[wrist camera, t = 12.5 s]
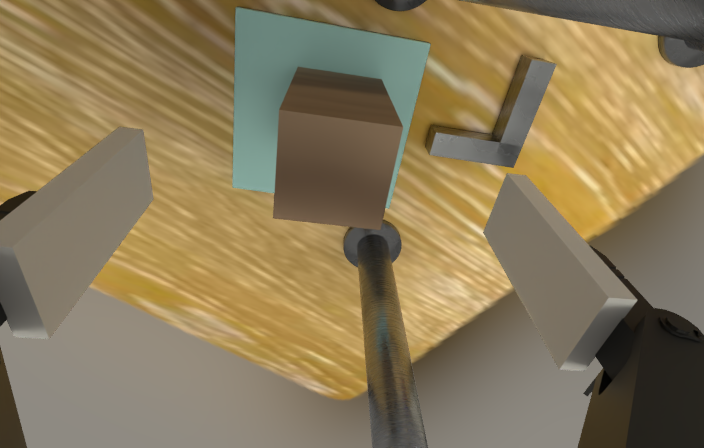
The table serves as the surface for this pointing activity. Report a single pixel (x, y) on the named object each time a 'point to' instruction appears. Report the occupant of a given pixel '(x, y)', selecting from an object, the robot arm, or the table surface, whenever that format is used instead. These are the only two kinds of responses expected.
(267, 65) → the pad
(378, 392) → the post
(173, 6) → the table surface
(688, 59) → the post
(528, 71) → the gray corner bracket
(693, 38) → the post
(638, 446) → the robot arm
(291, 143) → the walnut block
